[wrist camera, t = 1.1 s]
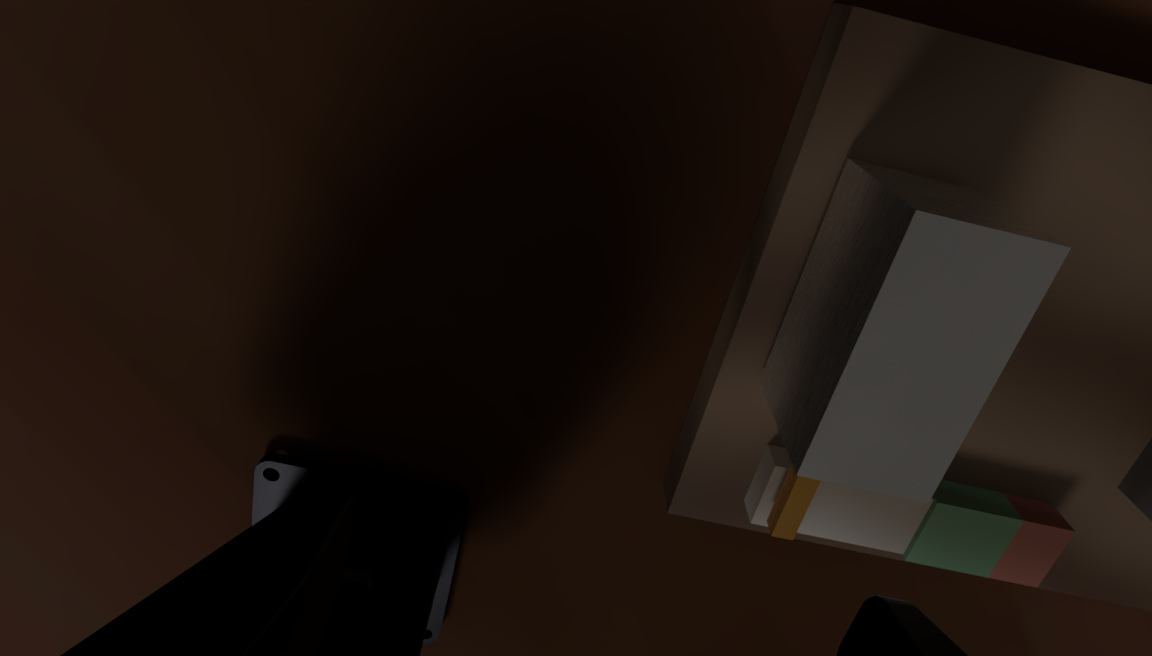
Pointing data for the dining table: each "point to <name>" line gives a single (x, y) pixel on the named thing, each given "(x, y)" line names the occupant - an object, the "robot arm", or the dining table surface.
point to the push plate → (898, 333)
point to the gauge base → (1039, 361)
